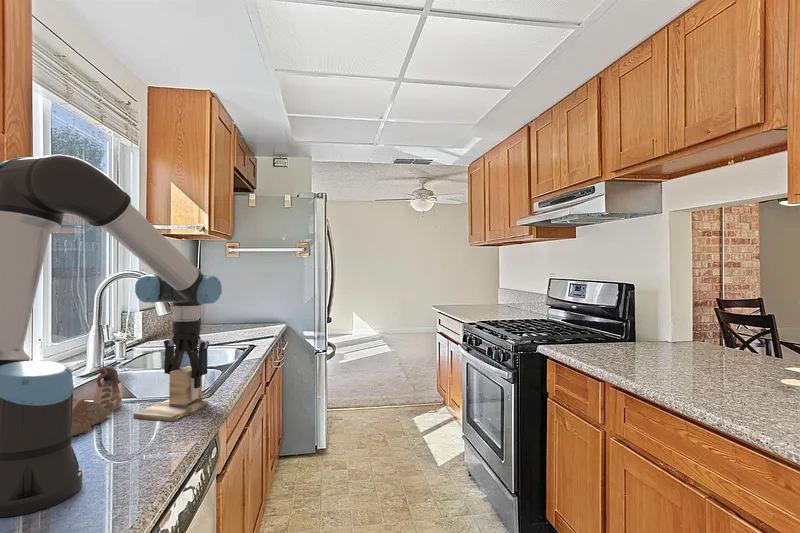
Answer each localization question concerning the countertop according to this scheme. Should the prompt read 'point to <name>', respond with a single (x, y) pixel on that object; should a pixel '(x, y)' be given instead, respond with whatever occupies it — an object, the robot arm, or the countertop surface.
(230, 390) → the countertop surface
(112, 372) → the figurine
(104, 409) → the stone
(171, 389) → the block
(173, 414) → the board
